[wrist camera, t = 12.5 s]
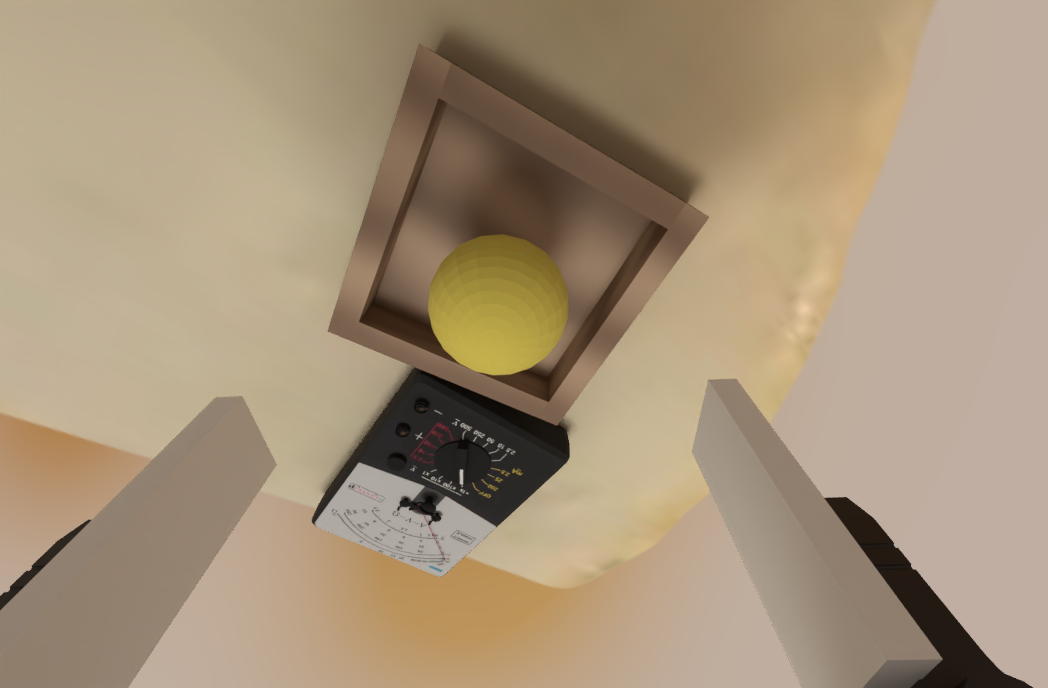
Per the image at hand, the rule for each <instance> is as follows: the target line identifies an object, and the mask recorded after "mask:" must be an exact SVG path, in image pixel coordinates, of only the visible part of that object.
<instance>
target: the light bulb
mask: <svg viewBox="0 0 1048 688" xmlns="http://www.w3.org/2000/svg"><path fill="white" fill-rule="evenodd" d="M428 312H429V316H430V321H431V325H432V329H433V332H434V334H435V335H436V337H437V339H438V340H439V342H440V344H441V345H442V347H443V349H444V350H445V351H446V352H447V353H449V354H450V355H451V356H452V357H453V358H454V359H455V360H456V361H457V362H458V363H460V364H462V365H464V366H466V367H468V368H470V369H472V370H474V371H476V372H480V373H485V374H490V375H507V374H513V373H516V372H520V371H523V370H526V369H529V368H531V367H533V366H534V365H535V364H537V363H538V362H540V361H541V360H543V359H544V358H545V357H547V356H548V355H549V353H550V352H551V351H552V349H553V348H554V347H555V345H556V344H557V343H558V341H559V340H560V339H561V336H562V334H563V331H564V328H565V325H566V321H567V318H568V290H567V287H566V285H565V282H564V280H563V277H562V275H561V272H560V270H559V268H558V266H557V265H556V264H555V263H554V262H553V261H552V259H551V258H550V257H549V256H548V255H547V253H546V252H545V251H543V250H542V249H540V248H538V247H537V246H535V245H533V244H532V243H530V242H528V241H527V240H524V239H520V238H516V237H512V236H508V235H504V234H502V235H488V236H480V237H477V238H475V239H472V240H470V241H468V242H465V243H463V244H460V245H459V246H458V247H457V248H456V249H455V250H454V251H453V252H452V253H450V254H449V255H448V256H447V257H446V258H445V259H444V260H443V261H442V262H441V264H440V266H439V268H438V270H437V272H436V274H435V276H434V278H433V279H432V282H431V285H430V292H429V300H428Z"/></svg>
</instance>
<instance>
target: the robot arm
mask: <svg viewBox="0 0 1048 688" xmlns="http://www.w3.org/2000/svg"><path fill="white" fill-rule="evenodd" d="M692 453H693V455H694V457H695V459H696V461H697V464H698V466H699V468H700V470H701V472H702V474H703V476H704V479H705V481H706V483H707V485H708V487H709V489H710V492H711V494H712V496H713V498H714V500H715V502H716V504H717V507H718V509H719V511H720V513H721V515H722V517H723V519H724V522H725V524H726V526H727V528H728V530H729V532H730V535H731V537H732V538H733V541H734V543H735V545H736V547H737V550H738V552H739V554H740V556H741V558H742V560H743V563H744V565H745V567H746V569H747V571H748V573H749V575H750V577H751V580H752V582H753V584H754V586H755V588H756V590H757V593H758V595H759V597H760V599H761V601H762V603H763V606H764V608H765V610H766V612H767V614H768V616H769V618H770V621H771V623H772V625H773V627H774V629H775V631H776V634H777V636H778V638H779V640H780V642H781V644H782V647H783V649H784V651H785V653H786V655H787V657H788V659H789V662H790V664H791V666H792V668H793V670H794V672H795V675H796V677H797V679H798V681H799V683H800V685H801V687H802V688H1033V687H1031V686H1030V685H1028V684H1027V683H1025V682H1023V681H1021V680H1018V679H1016V678H1013V677H1011V676H1009V675H1006V674H1004V673H1003V672H1002V671H1001V670H999V669H998V668H997V667H996V665H994V663H993V662H992V661H991V660H990V659H989V658H988V657H987V656H986V655H985V654H984V652H983V651H982V650H981V649H980V648H979V646H978V645H977V644H976V643H975V641H974V640H973V639H972V638H971V637H970V635H969V634H968V633H967V632H966V631H965V629H964V628H963V627H962V626H961V624H960V623H959V622H958V621H957V619H956V618H955V617H954V616H953V615H952V614H951V612H950V611H949V610H948V608H947V607H946V606H945V605H944V604H943V602H942V601H941V600H940V599H939V597H938V596H937V595H936V594H935V593H934V591H933V590H932V589H931V588H930V586H929V585H928V584H927V583H926V582H925V580H924V579H923V578H922V577H921V575H920V574H919V573H918V572H917V571H916V570H913V569H912V567H911V563H910V562H909V561H908V560H907V558H906V557H905V556H904V555H903V553H902V552H901V551H900V550H899V549H898V548H895V546H894V543H893V541H892V540H891V539H890V538H889V536H888V535H887V534H886V533H885V531H884V530H883V529H882V528H881V527H880V525H879V524H878V523H877V522H876V520H874V518H873V517H872V516H870V515H869V514H868V513H866V512H865V511H864V510H862V509H861V508H860V507H858V506H857V505H856V504H855V503H853V502H852V501H851V500H849V499H848V498H847V497H838V498H824V497H823V496H822V495H821V493H820V492H819V490H818V489H817V488H816V486H815V485H814V484H813V482H812V481H811V480H810V478H809V477H808V476H807V474H806V473H805V472H804V470H803V469H802V467H801V466H800V465H799V463H798V462H797V461H796V459H795V458H794V456H793V455H792V454H791V453H790V451H789V450H788V448H787V447H786V446H785V444H784V443H783V442H782V440H781V439H780V437H779V436H778V435H777V433H776V432H775V431H774V429H773V428H772V427H771V425H770V424H769V423H768V421H767V420H766V418H765V417H764V416H763V414H762V413H761V412H760V410H759V409H758V408H757V406H756V405H755V404H754V402H753V401H752V399H751V398H750V397H749V395H748V394H747V393H746V391H745V390H744V389H743V387H742V386H741V385H740V383H739V382H738V380H737V379H716V380H708V383H707V388H706V392H705V396H704V401H703V405H702V410H701V414H700V418H699V423H698V427H697V432H696V436H695V440H694V445H693V449H692ZM276 465H277V464H276V462H275V460H274V458H273V456H272V454H271V452H270V450H269V448H268V446H267V444H266V442H265V440H264V438H263V436H262V434H261V432H260V430H259V428H258V426H257V424H256V422H255V420H254V418H253V416H252V414H251V412H250V410H249V408H248V406H247V405H246V403H245V401H244V399H243V397H242V396H237V397H216V398H215V399H214V400H213V401H212V402H211V403H210V404H209V405H208V406H207V407H206V408H205V409H204V410H203V411H202V412H201V413H200V414H199V415H198V416H197V417H196V418H194V419H193V420H192V421H191V422H190V423H189V424H188V425H187V426H186V427H185V428H184V429H183V430H182V431H181V432H180V433H179V434H178V435H177V436H176V437H175V438H174V439H173V440H172V441H171V442H170V443H169V444H168V445H167V446H166V447H165V448H164V449H163V450H162V451H161V452H160V453H159V454H158V455H157V456H156V457H155V458H154V459H153V460H152V461H151V462H150V463H149V464H148V465H147V466H146V467H145V468H144V469H143V470H142V471H141V472H140V473H139V474H138V475H137V476H136V477H135V478H134V479H133V480H132V481H131V482H130V483H129V484H128V485H127V486H126V487H125V488H124V489H123V490H122V491H121V492H120V493H119V494H118V495H117V496H116V497H115V498H114V499H113V500H112V501H111V502H110V503H109V504H108V505H107V506H106V507H105V508H103V509H102V510H101V511H100V513H98V514H97V516H95V517H94V519H92V520H88V521H86V522H84V523H83V524H81V525H80V526H79V527H77V528H76V529H75V530H73V531H71V532H70V533H68V534H67V535H66V536H64V537H63V538H61V539H60V540H59V541H57V542H56V543H55V544H54V545H53V546H52V547H51V548H50V549H49V550H48V551H47V552H46V553H45V554H44V555H43V556H42V557H40V558H39V559H38V560H37V561H36V562H35V563H34V564H33V565H32V569H31V570H30V571H26V572H25V573H24V574H23V575H22V576H21V577H20V578H19V579H18V580H16V582H14V583H13V584H12V585H11V586H10V590H9V591H8V592H4V593H3V594H2V595H1V596H0V688H128V687H129V685H130V684H131V682H132V681H133V679H134V678H135V676H136V675H137V673H138V672H139V670H140V669H141V667H142V665H143V664H144V663H145V661H146V660H147V658H148V657H149V655H150V654H151V652H152V651H153V649H154V648H155V646H156V645H157V643H158V642H159V640H160V639H161V637H162V636H163V634H164V633H165V631H166V630H167V628H168V627H169V625H170V624H171V622H172V621H173V619H174V618H175V616H176V615H177V613H178V612H179V610H180V609H181V607H182V606H183V604H184V603H185V601H186V600H187V598H188V597H189V595H190V594H191V592H192V591H193V589H194V588H195V586H196V585H197V583H198V582H199V580H200V579H201V577H202V576H203V574H204V573H205V571H206V570H207V568H208V567H209V565H210V564H211V562H212V561H213V559H214V558H215V556H216V554H217V553H218V552H219V550H220V549H221V547H222V546H223V544H224V543H225V541H226V540H227V538H228V537H229V535H230V534H231V532H232V531H233V529H234V528H235V526H236V525H237V523H238V522H239V520H240V519H241V517H242V516H243V514H244V513H245V511H246V510H247V508H248V507H249V505H250V504H251V502H252V501H253V499H254V498H255V496H256V495H257V493H258V492H259V490H260V489H261V487H262V486H263V484H264V483H265V481H266V480H267V478H268V477H269V475H270V474H271V472H272V471H273V469H274V468H275V466H276Z"/></svg>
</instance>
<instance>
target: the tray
mask: <svg viewBox="0 0 1048 688" xmlns="http://www.w3.org/2000/svg"><path fill="white" fill-rule="evenodd" d="M708 218H709V217H708V216H707V215H705V214H704V213H702V212H700V211H699V210H697V209H696V208H694V207H692V206H691V205H689V204H688V203H686V202H684V201H683V200H681V199H679V198H678V197H676V196H674V195H672V194H671V193H669V192H667V191H666V190H664V189H662V188H661V187H659V186H657V185H656V184H654V183H652V182H651V181H649V180H647V179H646V178H644V177H642V176H641V175H639V174H637V173H636V172H634V171H632V170H631V169H629V168H627V167H626V166H624V165H622V164H621V163H619V162H617V161H616V160H614V159H612V158H611V157H609V156H607V155H606V154H604V153H602V152H601V151H599V150H597V149H595V148H594V147H592V146H590V145H589V144H587V143H585V142H584V141H582V140H580V139H579V138H577V137H575V136H574V135H572V134H570V133H569V132H567V131H565V130H564V129H562V128H560V127H559V126H557V125H555V124H554V123H552V122H550V121H549V120H547V119H545V118H544V117H542V116H540V115H539V114H537V113H535V112H534V111H532V110H530V109H529V108H527V107H525V106H524V105H522V104H520V103H518V102H517V101H515V100H513V99H512V98H510V97H508V96H507V95H505V94H503V93H502V92H500V91H498V90H497V89H495V88H493V87H492V86H490V85H488V84H487V83H485V82H483V81H482V80H480V79H478V78H477V77H475V76H473V75H472V74H470V73H468V72H467V71H465V70H463V69H462V68H460V67H458V66H457V65H455V64H453V63H452V62H450V61H448V60H447V59H445V58H443V57H441V56H440V55H438V54H436V53H435V52H433V51H431V50H429V49H428V48H426V47H424V46H422V45H420V44H419V46H418V49H417V52H416V56H415V59H414V62H413V65H412V68H411V71H410V74H409V78H408V81H407V84H406V87H405V90H404V93H403V96H402V99H401V103H400V106H399V109H398V112H397V115H396V118H395V121H394V125H393V128H392V131H391V134H390V137H389V140H388V143H387V147H386V150H385V153H384V156H383V159H382V162H381V165H380V169H379V172H378V175H377V178H376V181H375V184H374V187H373V190H372V194H371V197H370V200H369V203H368V206H367V209H366V212H365V216H364V219H363V222H362V225H361V228H360V231H359V234H358V238H357V241H356V244H355V247H354V250H353V253H352V256H351V259H350V263H349V266H348V269H347V272H346V275H345V278H344V281H343V285H342V288H341V291H340V294H339V297H338V300H337V303H336V307H335V310H334V313H333V316H332V319H331V322H330V325H329V329H328V332H331V333H333V334H336V335H338V336H340V337H343V338H345V339H348V340H350V341H353V342H355V343H357V344H360V345H362V346H365V347H367V348H370V349H372V350H374V351H377V352H379V353H382V354H384V355H387V356H389V357H391V358H394V359H396V360H399V361H401V362H404V363H406V364H408V365H411V366H413V367H416V368H418V369H421V370H423V371H425V372H428V373H430V374H433V375H435V376H438V377H440V378H442V379H445V380H447V381H450V382H452V383H455V384H457V385H459V386H462V387H464V388H467V389H469V390H472V391H474V392H476V393H479V394H481V395H484V396H486V397H489V398H491V399H493V400H496V401H498V402H501V403H503V404H506V405H508V406H510V407H513V408H515V409H518V410H520V411H523V412H525V413H527V414H530V415H532V416H535V417H537V418H540V419H542V420H544V421H547V422H549V423H552V424H554V425H558V424H559V422H560V421H561V420H562V418H563V417H564V415H565V414H566V413H567V411H568V410H569V409H570V407H571V406H572V404H573V403H574V402H575V400H576V399H577V398H578V396H579V395H580V394H581V392H582V391H583V389H584V388H585V387H586V385H587V384H588V383H589V381H590V380H591V378H592V377H593V376H594V374H595V373H596V372H597V370H598V369H599V368H600V366H601V365H602V363H603V362H604V361H605V359H606V358H607V357H608V355H609V354H610V352H611V351H612V350H613V348H614V347H615V346H616V344H617V343H618V341H619V340H620V339H621V337H622V336H623V335H624V333H625V332H626V331H627V329H628V328H629V326H630V325H631V324H632V322H633V321H634V320H635V318H636V317H637V315H638V314H639V313H640V311H641V310H642V309H643V307H644V306H645V305H646V303H647V302H648V300H649V299H650V298H651V296H652V295H653V294H654V292H655V291H656V289H657V288H658V287H659V285H660V284H661V283H662V281H663V280H664V278H665V277H666V276H667V274H668V273H669V272H670V270H671V269H672V268H673V266H674V265H675V263H676V262H677V261H678V259H679V258H680V257H681V255H682V254H683V252H684V251H685V250H686V248H687V247H688V246H689V244H690V243H691V242H692V240H693V239H694V237H695V236H696V235H697V233H698V232H699V231H700V229H701V228H702V226H703V225H704V224H705V222H706V221H707V220H708ZM502 234H504V235H508V236H512V237H516V238H520V239H524V240H527V241H528V242H530V243H532V244H533V245H535V246H537V247H538V248H540V249H542V250H543V251H545V252H546V253H547V255H548V256H549V257H550V258H551V259H552V261H553V262H554V263H555V264H556V265H557V266H558V268H559V270H560V272H561V275H562V277H563V280H564V282H565V285H566V287H567V290H568V318H567V321H566V325H565V328H564V331H563V334H562V336H561V339H560V340H559V341H558V343H557V344H556V345H555V347H554V348H553V349H552V351H551V352H550V353H549V355H548V356H547V357H545V358H544V359H543V360H541V361H540V362H538V363H537V364H535V365H534V366H533V367H531V368H529V369H526V370H523V371H520V372H516V373H513V374H507V375H490V374H485V373H480V372H476V371H474V370H472V369H470V368H468V367H466V366H464V365H462V364H460V363H458V362H457V361H456V360H455V359H454V358H453V357H452V356H451V355H450V354H449V353H447V352H446V351H445V350H444V349H443V347H442V345H441V344H440V342H439V340H438V339H437V337H436V335H435V334H434V332H433V329H432V325H431V321H430V316H429V312H428V300H429V292H430V285H431V282H432V279H433V278H434V276H435V274H436V272H437V270H438V268H439V266H440V264H441V262H442V261H443V260H444V259H445V258H446V257H447V256H448V255H449V254H450V253H452V252H453V251H454V250H455V249H456V248H457V247H458V246H459V245H460V244H463V243H465V242H468V241H470V240H472V239H475V238H477V237H480V236H488V235H502Z"/></svg>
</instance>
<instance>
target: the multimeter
mask: <svg viewBox="0 0 1048 688" xmlns="http://www.w3.org/2000/svg"><path fill="white" fill-rule="evenodd" d="M569 457H570V450H569V440H568V435H567V432H566V430H565V429H564V428H562V427H560V426H559V425H554V424H552V423H549V422H547V421H544V420H542V419H540V418H537V417H535V416H532V415H530V414H527V413H525V412H523V411H520V410H518V409H515V408H513V407H510V406H508V405H506V404H503V403H501V402H498V401H496V400H493V399H491V398H489V397H486V396H484V395H481V394H479V393H476V392H474V391H472V390H469V389H467V388H464V387H462V386H459V385H457V384H455V383H452V382H450V381H447V380H445V379H442V378H440V377H438V376H435V375H433V374H430V373H428V372H425V371H423V370H421V369H418V368H416V367H415V368H414V369H413V371H412V372H411V374H410V375H409V376H408V378H407V379H406V381H405V382H404V383H403V385H402V386H401V388H400V389H399V390H398V392H397V393H396V395H395V396H394V398H393V399H392V400H391V402H390V403H389V405H388V406H387V407H386V409H385V410H384V412H383V413H382V414H381V416H380V417H379V419H378V420H377V421H376V423H375V424H374V426H373V427H372V428H371V430H370V431H369V433H368V434H367V435H366V437H365V438H364V440H363V441H362V442H361V444H360V445H359V447H358V448H357V449H356V451H355V452H354V454H353V455H352V456H351V458H350V459H349V461H348V462H347V463H346V465H345V466H344V468H343V469H342V470H341V472H340V473H339V475H338V476H337V477H336V479H335V480H334V482H333V483H332V484H331V486H330V487H329V489H328V490H327V491H326V493H325V495H324V496H323V498H322V500H321V501H320V503H319V505H318V507H317V509H316V511H315V513H314V516H313V518H312V523H313V524H314V525H315V526H317V527H318V528H320V529H323V530H325V531H328V532H330V533H333V534H335V535H338V536H341V537H343V538H345V539H348V540H350V541H353V542H355V543H357V544H360V545H362V546H365V547H367V548H370V549H372V550H374V551H377V552H379V553H382V554H384V555H387V556H389V557H392V558H394V559H397V560H399V561H401V562H404V563H406V564H409V565H412V566H414V567H416V568H419V569H421V570H424V571H426V572H428V573H431V574H433V575H436V576H440V577H441V576H444V575H445V574H446V573H447V572H448V571H449V570H451V569H452V568H453V567H454V566H455V565H456V564H457V563H458V562H459V561H460V560H461V559H463V557H465V556H466V555H467V554H468V553H469V552H470V551H471V550H472V549H473V548H474V547H476V546H477V545H478V544H479V543H480V542H481V541H482V540H483V539H484V538H485V537H486V536H487V535H489V534H490V533H491V532H492V531H493V530H494V529H495V528H496V527H497V526H498V525H499V524H501V523H502V522H503V521H504V520H505V519H506V518H507V517H508V516H509V515H510V514H511V513H512V512H514V511H515V510H516V509H517V508H518V507H519V506H520V505H521V504H522V503H523V502H524V501H525V500H527V499H528V498H529V497H530V496H531V495H532V494H533V493H534V492H535V491H536V490H537V489H539V488H540V487H541V486H542V485H543V484H544V483H545V482H546V481H547V480H548V479H549V478H550V477H552V476H553V475H554V474H555V473H556V472H557V471H558V470H559V469H560V468H561V467H562V466H563V465H564V464H565V463H566V462H567V461H568V459H569Z"/></svg>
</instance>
